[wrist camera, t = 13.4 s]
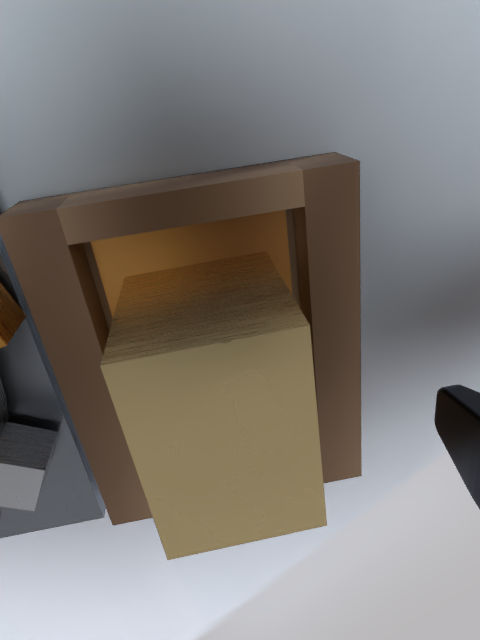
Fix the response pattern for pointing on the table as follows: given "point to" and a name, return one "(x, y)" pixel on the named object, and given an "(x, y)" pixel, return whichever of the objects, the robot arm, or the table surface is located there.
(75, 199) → the brown open tray
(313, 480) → the tan rectangular block
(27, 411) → the sprocket base
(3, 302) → the sprocket
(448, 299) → the table surface
